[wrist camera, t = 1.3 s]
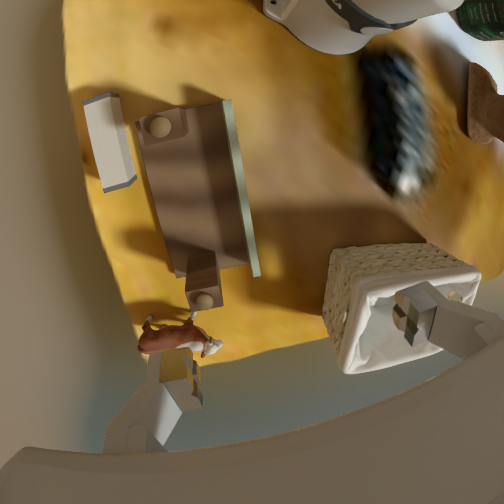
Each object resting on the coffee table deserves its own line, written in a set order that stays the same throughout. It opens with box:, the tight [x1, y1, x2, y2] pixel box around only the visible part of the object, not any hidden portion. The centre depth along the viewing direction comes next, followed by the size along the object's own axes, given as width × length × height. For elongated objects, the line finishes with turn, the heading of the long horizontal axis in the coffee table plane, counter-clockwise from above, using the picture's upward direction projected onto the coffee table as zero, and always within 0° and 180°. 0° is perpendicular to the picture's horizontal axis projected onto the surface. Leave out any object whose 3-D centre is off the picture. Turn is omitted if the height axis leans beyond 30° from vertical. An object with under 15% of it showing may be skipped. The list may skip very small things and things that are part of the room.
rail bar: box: [83, 92, 137, 193], centre depth 33 cm, size 12×4×4 cm, turn 9°
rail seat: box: [135, 99, 261, 312], centre depth 35 cm, size 23×12×11 cm, turn 9°
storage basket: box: [322, 243, 481, 374], centre depth 45 cm, size 24×16×15 cm
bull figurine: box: [138, 311, 223, 358], centre depth 45 cm, size 4×13×8 cm, turn 91°
